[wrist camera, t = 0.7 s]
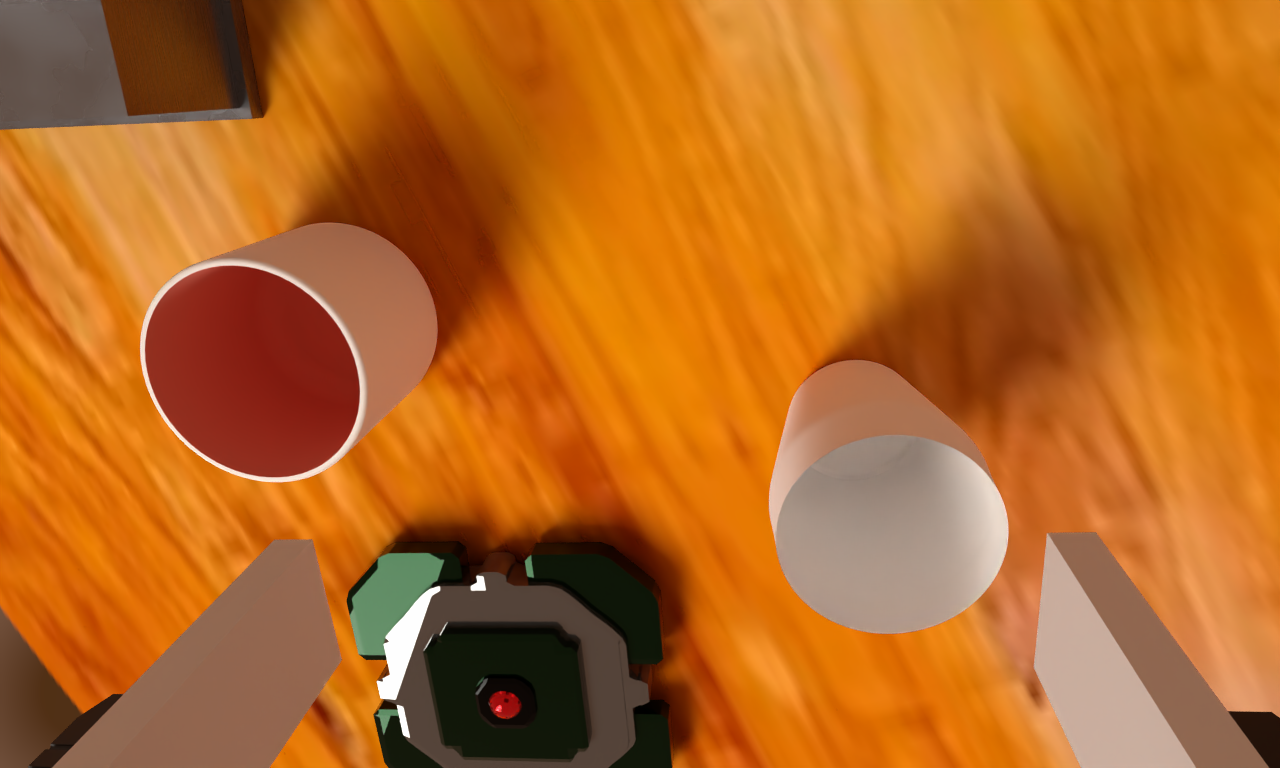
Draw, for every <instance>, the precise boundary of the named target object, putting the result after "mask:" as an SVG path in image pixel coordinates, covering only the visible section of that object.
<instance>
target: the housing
mask: <svg viewBox="0 0 1280 768" xmlns="http://www.w3.org/2000/svg"><path fill="white" fill-rule="evenodd" d="M254 118H263V115H262V109H261V104H260V98H259V93H258V88H257V82H256V77H255V71H254V66H253V60H252V55H251V50H250V44H249V39H248V33H247V28H246V23H245V17H244V12H243V6H242V1H241V0H0V129H23V128H47V127H70V126H93V125H116V124H139V123H162V122H186V121H209V120H232V119H254Z"/></svg>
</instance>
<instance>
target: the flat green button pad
mask: <svg viewBox="0 0 1280 768" xmlns="http://www.w3.org/2000/svg"><path fill="white" fill-rule="evenodd" d="M347 605H348V610H349V614H350V618H351V623H352V627H353V631H354V636H355V640H356V645H357V649H358V653H359V655H360V656H362V657H363V658H364V659H366V660H387V662H388V663H387V665H386V667H385V668H384V670H383V672H382V673H381V675H380V677H379V678H378V680H377V684H378V689H379V693H380V698H381V699H383V700H382V701H381V703H380V704H379V706H378V708H377V709H376V711H375V713H374V719H375V723H376V727H377V732H378V736H379V741H380V745H381V749H382V754H383V758H384V762H385V764H386V765H387V766H388V768H673V760H674V748H673V736H672V724H671V712H670V705H669V704H668V703H666V702H665V701H664V700H650V694H651V688H652V681H653V672H652V664H658V663H659V662H660V661H661V660H662V659H663V656H664V649H665V639H664V627H663V615H662V603H661V591H660V589H659V587H658V585H657V583H656V582H655V580H654V579H653V578H651V577H650V576H649V575H648V574H646V573H645V572H644V571H643V570H641V569H640V568H639V567H638V566H636V565H635V564H634V563H633V562H631V561H630V560H629V559H628V558H627V557H625V556H624V555H623V554H622V553H620V552H619V551H618V550H617V549H615V548H614V547H613V546H610V545H607V544H604V543H601V542H581V543H536V544H535V545H534V546H533V547H532V548H531V549H530V551H529V553H528V555H527V557H526V560H525V565H522V564H520V563H518V562H516V558H515V555H513V554H511V553H509V552H493V553H491V554H489V555H488V556H487V557H486V559H485V561H484V563H483V564H482V566H469V562H468V556H467V550H466V547H465V546H464V545H462V544H461V543H460V542H458V541H449V542H396V543H394V544H391V545H389V546H387V547H386V548H385V549H384V550H383V551H382V552H381V554H380V555H379V556H378V557H377V558H376V559H375V560H374V562H373V563H372V564H371V565H370V566H369V567H368V568H367V570H366V571H365V572H364V573H363V574H362V575H361V576H360V577H359V579H358V580H357V581H356V582H355V584H354V585H353V586H352V588H351V589H350V590H349V593H348V597H347Z"/></svg>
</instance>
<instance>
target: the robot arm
mask: <svg viewBox="0 0 1280 768" xmlns="http://www.w3.org/2000/svg"><path fill="white" fill-rule="evenodd" d="M341 660H342V659H341V655H340V651H339V647H338V643H337V638H336V634H335V630H334V626H333V622H332V618H331V614H330V610H329V606H328V602H327V598H326V593H325V589H324V585H323V581H322V577H321V573H320V569H319V565H318V561H317V557H316V553H315V548H314V544H313V540H274V541H273V542H272V543H271V544H270V545H269V546H268V547H267V548H266V549H265V550H264V551H263V552H262V553H261V554H260V555H259V556H258V557H257V558H256V559H255V560H254V561H253V562H252V563H251V564H250V565H249V566H248V568H247V569H246V570H245V571H244V572H243V573H242V574H241V575H240V576H239V577H238V578H237V579H236V580H235V581H234V582H233V583H232V584H231V585H230V586H229V587H228V588H227V589H226V590H225V591H224V592H223V593H222V594H221V595H220V596H219V597H218V598H217V599H216V600H215V601H214V602H213V603H212V604H211V605H210V606H209V607H208V608H207V609H206V611H205V612H204V613H203V614H202V615H201V616H200V617H199V618H198V619H197V620H196V621H195V622H194V623H193V624H192V625H191V626H190V627H189V628H188V629H187V630H186V631H185V632H184V633H183V634H182V635H181V636H180V637H179V638H178V639H177V640H176V641H175V642H174V643H173V644H172V645H171V646H170V647H169V648H168V649H167V650H166V651H165V652H164V654H163V655H162V656H161V657H160V658H159V659H158V660H157V661H156V662H155V663H154V664H153V665H152V666H151V667H150V668H149V669H148V670H147V671H146V672H145V673H144V674H143V675H142V676H141V677H140V678H139V679H138V680H137V681H136V682H135V683H134V684H133V685H132V686H131V687H130V688H129V689H128V690H127V691H126V692H125V693H124V694H113V695H111V696H110V697H108V698H107V699H105V700H104V701H102V702H100V703H99V704H97V705H96V706H94V707H93V708H91V709H90V710H88V711H87V712H85V713H84V714H82V715H81V716H79V717H78V718H77V719H76V720H75V721H74V722H73V723H72V724H71V725H70V726H69V727H68V728H67V729H65V731H63V733H62V734H60V735H59V737H57V739H55V740H54V741H53V742H52V743H51V748H50V749H49V750H48V749H46V750H44V751H43V752H42V753H41V754H40V755H39V756H38V757H37V758H36V759H35V760H34V761H33V762H32V763H31V764H30V765H29V768H269V767H270V766H271V764H272V763H273V762H274V760H275V759H276V757H277V756H278V754H279V753H280V751H281V750H282V748H283V747H284V745H285V744H286V742H287V741H288V739H289V738H290V736H291V735H292V733H293V732H294V730H295V729H296V727H297V726H298V724H299V723H300V721H301V720H302V718H303V717H304V715H305V714H306V712H307V711H308V709H309V708H310V706H311V705H312V703H313V702H314V700H315V699H316V697H317V696H318V694H319V693H320V691H321V690H322V688H323V687H324V685H325V684H326V682H327V681H328V680H329V678H330V677H331V675H332V674H333V672H334V671H335V669H336V668H337V666H338V665H339V663H340V662H341ZM1034 669H1035V671H1036V673H1037V675H1038V677H1039V680H1040V682H1041V684H1042V686H1043V688H1044V690H1045V692H1046V694H1047V696H1048V699H1049V701H1050V703H1051V705H1052V707H1053V709H1054V711H1055V713H1056V716H1057V718H1058V720H1059V722H1060V724H1061V726H1062V728H1063V730H1064V733H1065V735H1066V737H1067V739H1068V741H1069V743H1070V745H1071V747H1072V749H1073V752H1074V754H1075V756H1076V758H1077V760H1078V762H1079V764H1080V766H1081V768H1280V718H1279V717H1278V716H1276V715H1275V714H1273V713H1272V712H1235V711H1227V710H1226V708H1225V707H1224V706H1223V704H1222V703H1221V702H1220V700H1219V699H1218V698H1217V696H1216V695H1215V693H1214V692H1213V691H1212V689H1211V688H1210V687H1209V685H1208V684H1207V683H1206V681H1205V680H1204V679H1203V677H1202V676H1201V674H1200V673H1199V672H1198V670H1197V669H1196V668H1195V666H1194V665H1193V664H1192V662H1191V661H1190V660H1189V658H1188V657H1187V655H1186V654H1185V653H1184V651H1183V650H1182V649H1181V647H1180V646H1179V645H1178V643H1177V642H1176V641H1175V639H1174V638H1173V636H1172V635H1171V634H1170V632H1169V631H1168V630H1167V628H1166V627H1165V626H1164V624H1163V623H1162V622H1161V620H1160V619H1159V617H1158V616H1157V615H1156V613H1155V612H1154V611H1153V609H1152V608H1151V607H1150V605H1149V604H1148V603H1147V601H1146V600H1145V598H1144V597H1143V596H1142V594H1141V593H1140V592H1139V590H1138V589H1137V588H1136V586H1135V585H1134V584H1133V582H1132V581H1131V579H1130V578H1129V577H1128V575H1127V574H1126V573H1125V571H1124V570H1123V569H1122V567H1121V566H1120V565H1119V563H1118V562H1117V560H1116V559H1115V558H1114V556H1113V555H1112V554H1111V552H1110V551H1109V550H1108V548H1107V547H1106V546H1105V544H1104V543H1103V541H1102V540H1101V539H1100V537H1099V536H1098V535H1097V533H1096V532H1093V533H1047V541H1046V551H1045V561H1044V571H1043V581H1042V591H1041V601H1040V611H1039V621H1038V631H1037V641H1036V651H1035V661H1034Z"/></svg>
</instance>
